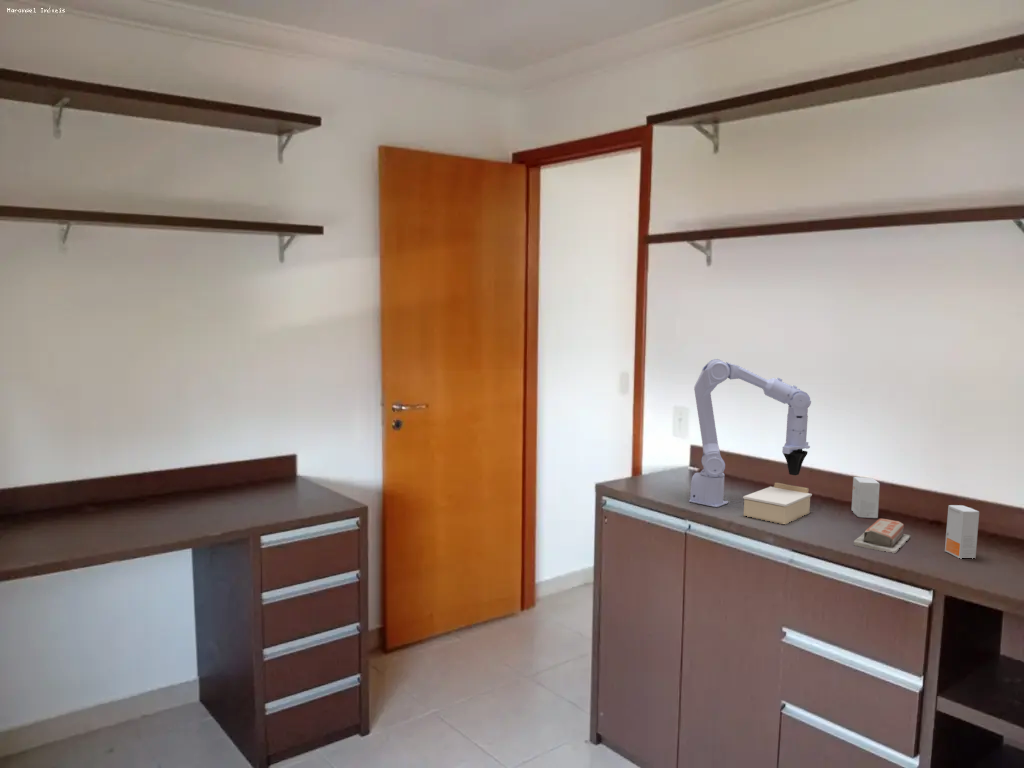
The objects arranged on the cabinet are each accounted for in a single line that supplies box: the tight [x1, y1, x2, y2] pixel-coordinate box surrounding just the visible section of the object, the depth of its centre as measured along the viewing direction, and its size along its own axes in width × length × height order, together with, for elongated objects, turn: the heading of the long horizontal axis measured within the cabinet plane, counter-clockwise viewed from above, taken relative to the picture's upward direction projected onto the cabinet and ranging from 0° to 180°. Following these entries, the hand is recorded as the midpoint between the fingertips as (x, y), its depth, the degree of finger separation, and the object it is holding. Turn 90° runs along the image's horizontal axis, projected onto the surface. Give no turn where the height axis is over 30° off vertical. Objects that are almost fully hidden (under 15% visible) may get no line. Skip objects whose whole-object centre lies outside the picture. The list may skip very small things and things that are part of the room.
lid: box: [742, 482, 813, 507], centre depth 224 cm, size 13×19×2 cm, turn 138°
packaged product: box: [853, 518, 912, 554], centre depth 200 cm, size 18×5×10 cm
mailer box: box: [743, 496, 811, 525], centre depth 224 cm, size 12×18×5 cm, turn 138°
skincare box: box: [944, 504, 980, 560], centre depth 189 cm, size 6×4×12 cm
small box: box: [851, 476, 881, 519], centre depth 226 cm, size 8×6×10 cm
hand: (794, 474), depth 231 cm, fingers closed
